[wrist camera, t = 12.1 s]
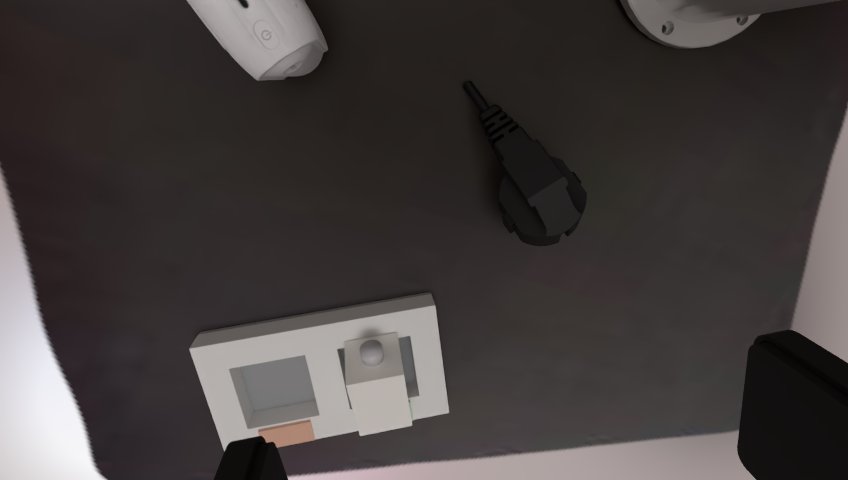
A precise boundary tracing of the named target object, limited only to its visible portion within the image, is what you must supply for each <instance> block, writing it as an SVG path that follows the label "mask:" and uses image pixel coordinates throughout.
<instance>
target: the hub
mask: <svg viewBox="0 0 848 480" xmlns="http://www.w3.org/2000/svg"><path fill="white" fill-rule="evenodd" d="M391 333H397V334H398V340H399V347H400V353H401V359H402V365H403V371H404V377H405V383H406V389H407V395H408V402H409V408H410V414H411V420H412V421H413V420H415V419H420V418H425V417H430V416H435V415H440V414H445V413H449V408H448V400H447V392H446V385H445V377H444V369H443V361H442V354H441V346H440V338H439V330H438V323H437V315H436V307H435V303H434V300H433V298H432V295H431V292H426V293H420V294H415V295H409V296H403V297H397V298H392V299H386V300H380V301H374V302H369V303H363V304H357V305H351V306H346V307H340V308H334V309H329V310H323V311H317V312H311V313H306V314H300V315H294V316H288V317H283V318H277V319H271V320H265V321H260V322H254V323H248V324H242V325H237V326H231V327H225V328H219V329H214V330H208V331H202V332H199V334H198V336H197V337H196V339H195V340H194V342H193V344H192V345H191V347H190V348H189V349H190V352H191V355H192V358H193V361H194V364H195V367H196V370H197V373H198V376H199V379H200V382H201V384H202V387H203V390H204V393H205V396H206V399H207V402H208V405H209V408H210V411H211V414H212V417H213V420H214V422H215V425H216V428H217V431H218V434H219V437H220V440H221V443H222V446H223V449H224V452H225V449H226V447H227V445H228V444H229V443H230V442H232V441H237V440H242V439H247V438H252V437H257V436H262V437H263V438H264V439H265V441H266V443H268V442H274V443H275V445H276V447H282V446H287V445H292V444H297V443H302V442H307V441H312V440H314V439H320V438H325V437H330V436H335V435H340V434H345V433H350V432H355V431H358V427H357V424H356V420H355V417H354V413H353V409H352V406H351V402H350V399H349V395H348V392H347V388H346V377H345V348H344V342H347V341H353V340H358V339H364V338H369V337H375V336H380V335H386V334H391Z"/></svg>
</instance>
